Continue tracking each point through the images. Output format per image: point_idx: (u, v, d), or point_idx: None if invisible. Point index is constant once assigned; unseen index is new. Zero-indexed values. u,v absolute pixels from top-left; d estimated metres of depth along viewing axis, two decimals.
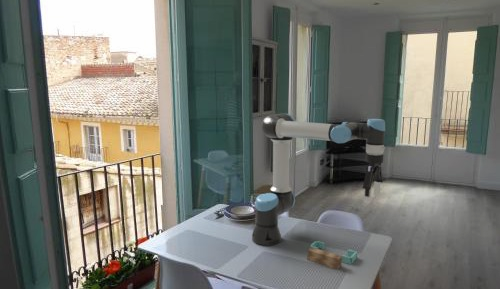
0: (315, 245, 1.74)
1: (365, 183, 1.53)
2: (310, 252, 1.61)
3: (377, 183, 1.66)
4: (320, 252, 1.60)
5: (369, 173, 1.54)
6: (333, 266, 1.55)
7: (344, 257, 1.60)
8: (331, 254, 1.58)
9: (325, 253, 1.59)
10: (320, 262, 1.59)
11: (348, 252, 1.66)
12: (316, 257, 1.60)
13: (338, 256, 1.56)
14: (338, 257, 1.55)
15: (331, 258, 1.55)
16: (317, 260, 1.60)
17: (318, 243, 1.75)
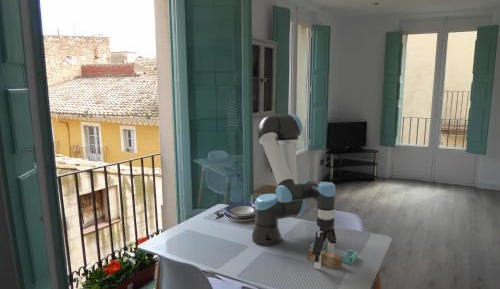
0: None
1: (314, 249, 1.51)
2: (310, 252, 1.61)
3: (330, 244, 1.64)
4: None
5: (318, 239, 1.51)
6: (333, 266, 1.55)
7: (344, 257, 1.60)
8: (331, 254, 1.58)
9: (325, 253, 1.59)
10: None
11: (348, 252, 1.66)
12: None
13: (338, 256, 1.56)
14: (338, 257, 1.55)
15: (331, 258, 1.55)
16: None
17: None
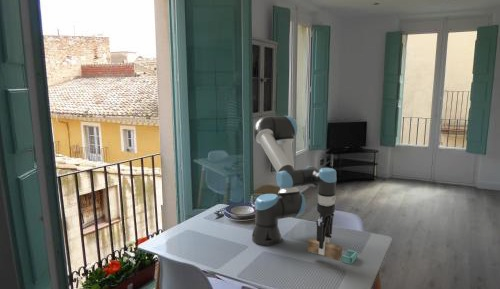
0: None
1: (318, 237, 1.54)
2: (310, 243, 1.61)
3: (326, 239, 1.60)
4: None
5: (320, 228, 1.52)
6: (333, 256, 1.55)
7: (344, 257, 1.60)
8: (331, 245, 1.57)
9: (325, 244, 1.58)
10: None
11: (348, 252, 1.66)
12: (316, 248, 1.59)
13: (338, 247, 1.55)
14: (338, 248, 1.55)
15: (331, 249, 1.55)
16: (317, 251, 1.59)
17: None
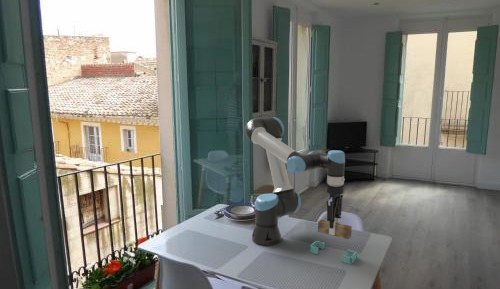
0: (315, 245, 1.74)
1: (328, 217, 1.60)
2: (321, 224, 1.67)
3: (335, 219, 1.66)
4: None
5: (330, 207, 1.58)
6: (343, 235, 1.61)
7: (344, 257, 1.60)
8: (341, 225, 1.63)
9: (335, 224, 1.64)
10: None
11: (348, 252, 1.66)
12: (327, 228, 1.65)
13: (348, 226, 1.61)
14: (348, 227, 1.60)
15: (341, 228, 1.61)
16: (327, 231, 1.65)
17: (318, 243, 1.75)
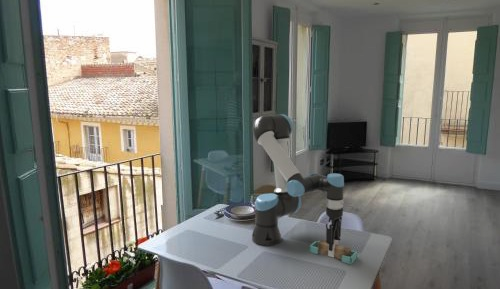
0: (315, 245, 1.74)
1: (327, 239, 1.61)
2: (320, 245, 1.68)
3: (335, 241, 1.67)
4: None
5: (329, 230, 1.60)
6: None
7: (344, 257, 1.60)
8: (340, 247, 1.65)
9: (335, 246, 1.66)
10: None
11: None
12: (326, 250, 1.67)
13: (347, 248, 1.63)
14: (347, 249, 1.62)
15: (340, 250, 1.62)
16: (327, 252, 1.67)
17: None
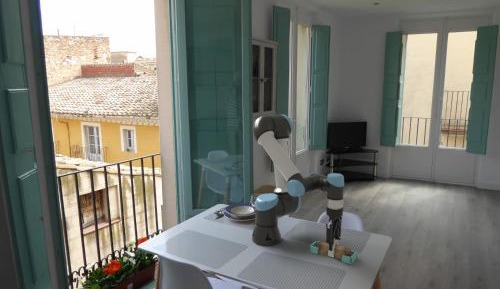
0: (315, 245, 1.74)
1: (327, 239, 1.61)
2: (320, 245, 1.68)
3: (335, 241, 1.68)
4: None
5: (329, 230, 1.60)
6: None
7: (344, 257, 1.60)
8: (340, 247, 1.65)
9: (335, 246, 1.66)
10: None
11: None
12: (326, 250, 1.67)
13: (347, 248, 1.63)
14: (347, 249, 1.62)
15: (341, 250, 1.62)
16: (327, 252, 1.67)
17: None
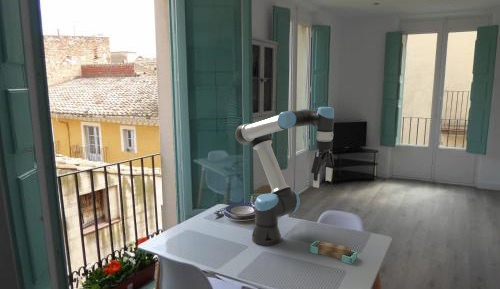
0: (315, 245, 1.74)
1: (313, 168, 1.61)
2: (320, 246, 1.68)
3: (328, 169, 1.73)
4: (330, 245, 1.66)
5: (317, 158, 1.61)
6: None
7: (344, 257, 1.60)
8: (341, 246, 1.65)
9: (335, 246, 1.66)
10: (330, 255, 1.66)
11: None
12: (326, 250, 1.66)
13: (348, 248, 1.64)
14: (348, 249, 1.63)
15: (341, 250, 1.63)
16: (327, 253, 1.66)
17: None
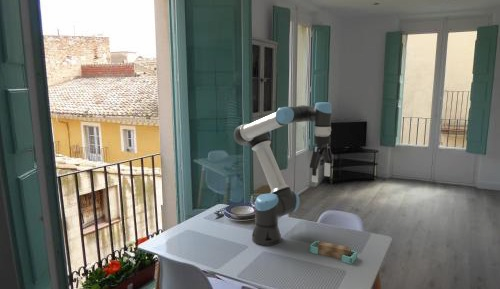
0: (315, 245, 1.74)
1: (312, 163, 1.61)
2: (320, 246, 1.68)
3: (327, 164, 1.74)
4: (330, 245, 1.66)
5: (315, 153, 1.62)
6: None
7: (344, 257, 1.60)
8: (341, 246, 1.65)
9: (335, 246, 1.66)
10: (330, 255, 1.66)
11: None
12: (326, 250, 1.66)
13: (348, 248, 1.64)
14: (348, 249, 1.63)
15: (341, 250, 1.63)
16: (327, 253, 1.66)
17: None
